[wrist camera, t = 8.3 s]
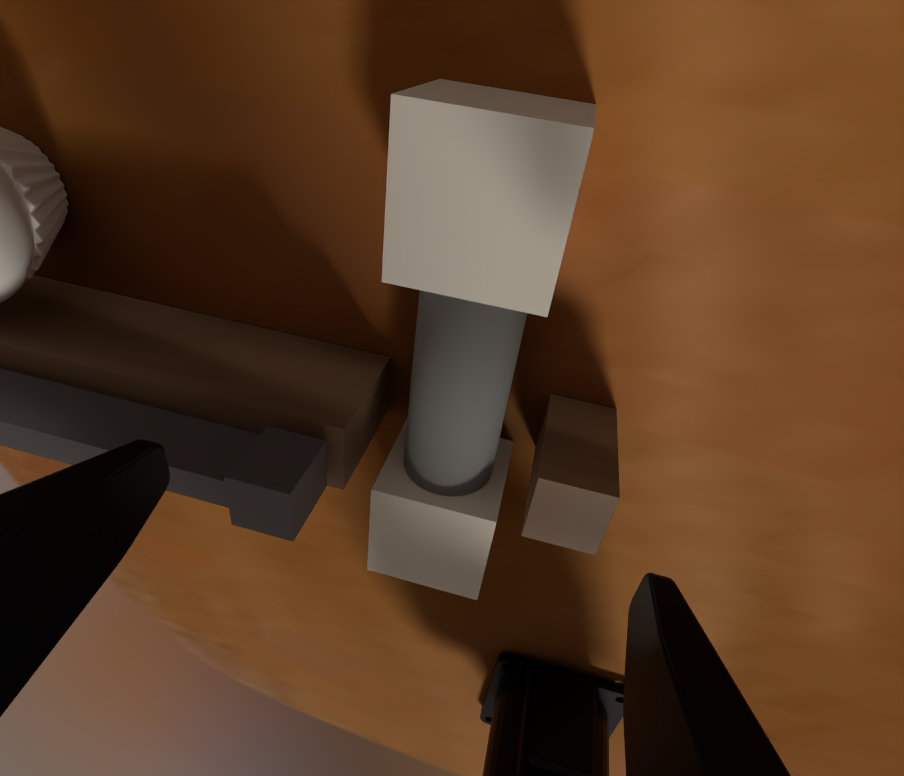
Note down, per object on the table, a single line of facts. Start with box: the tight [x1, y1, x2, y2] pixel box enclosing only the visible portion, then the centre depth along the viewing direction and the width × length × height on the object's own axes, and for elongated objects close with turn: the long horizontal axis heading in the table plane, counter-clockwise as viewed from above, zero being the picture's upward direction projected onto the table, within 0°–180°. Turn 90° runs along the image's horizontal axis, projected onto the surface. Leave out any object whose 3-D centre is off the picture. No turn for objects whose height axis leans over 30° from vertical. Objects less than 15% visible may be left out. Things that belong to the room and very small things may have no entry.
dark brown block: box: [0, 275, 620, 555], centre depth 18 cm, size 2×22×4 cm, turn 83°
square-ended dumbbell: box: [367, 79, 596, 600], centre depth 16 cm, size 15×4×4 cm, turn 173°
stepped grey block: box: [0, 368, 327, 541], centre depth 16 cm, size 2×16×2 cm, turn 83°
